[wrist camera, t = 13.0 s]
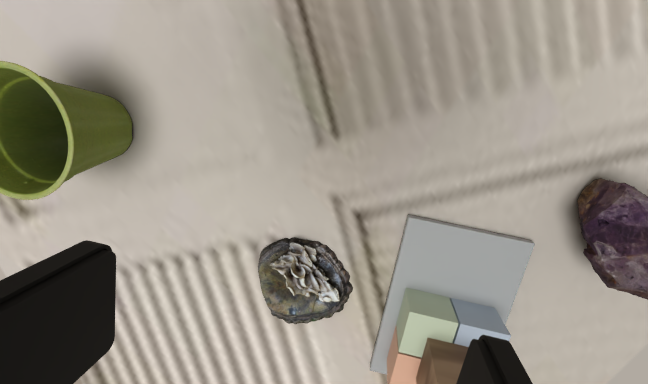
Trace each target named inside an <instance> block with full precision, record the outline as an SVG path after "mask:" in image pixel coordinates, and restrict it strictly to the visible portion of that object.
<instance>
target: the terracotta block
mask: <svg viewBox="0 0 648 384" xmlns="http://www.w3.org/2000/svg"><path fill="white" fill-rule="evenodd" d="M421 359H422V358H421V357H417V356H413V355H409V354H405V353H401V352H399V351H398V339H397V327H396V326H395V330H394V334H393V338H392V341H391V345H390V349H389V353H388V356H387V382H388V384H417V382H416V376H417V372H418V369H419V365H420V362H421Z"/></svg>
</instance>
